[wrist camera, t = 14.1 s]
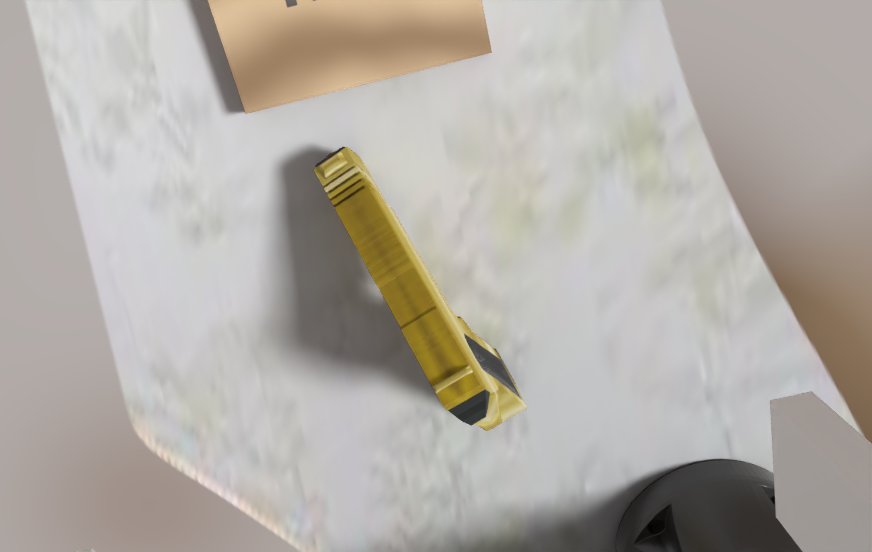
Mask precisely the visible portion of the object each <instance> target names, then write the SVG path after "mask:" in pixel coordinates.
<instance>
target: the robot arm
mask: <svg viewBox="0 0 872 552" xmlns="http://www.w3.org/2000/svg"><path fill="white" fill-rule="evenodd" d="M770 411H771V431H772V450H773V470H774V474H773V473H771V472H770V471H768V470H766V469H764V468H762V467H759V466H757V465H754V464H750V463H746V462H741V461H733V460H715V461H706V462H701V463H696V464H692V465H689V466H686V467H683V468H680V469H678V470H676V471H673V472H671V473H669V474H667V475H665V476H664V477H662V478H660V479H659V480H657V481H656V482H654V483H653V484H651V485H650V486H649V487H647V488H646V489H645V490H644V491H643V492H642V493H641V494H640V495H639V496H638V497H637V498H636V499H635V500H634V501H633V503H632V504H631V505H630V507H629V508H628V510H627V511H626V513H625V515H624V516H623V518H622V521H621V523H620V526H619V529H618V532H617V538H616V552H872V444H871V443H870V442H869V441H868V440H867V439H865V438H864V437H863V436H862V435H861V434H860V433H859V432H857V431H856V430H855V429H854V428H853V427H852V426H851V425H849V424H848V423H847V422H846V421H845V420H844V419H843V418H841V417H840V416H839V415H838V414H837V413H836V412H835V411H833V410H832V409H831V408H830V407H829V406H828V405H827V404H826V403H824V402H823V401H822V400H821V399H820V398H819V397H818V396H816V395H815V394H814V393H813V392H812V391H811V392H807V393H802V394H797V395H793V396H788V397H784V398H779V399H774V400H770ZM76 552H95V550H94V549H93V548H90V549H85V550H80V551H76Z"/></svg>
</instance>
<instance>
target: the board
mask: <svg viewBox="0 0 872 552" xmlns="http://www.w3.org/2000/svg"><path fill="white" fill-rule="evenodd" d="M208 3H209V6H210V9H211V12H212V15H213V18H214V21H215V24H216V27H217V30H218V32H219V35H220V38H221V41H222V44H223V47H224V50H225V53H226V56H227V59H228V62H229V65H230V68H231V71H232V74H233V77H234V80H235V83H236V86H237V89H238V92H239V95H240V98H241V101H242V104H243V107H244V110H245V113H246V114H247V113H251V112H255V111H259V110H263V109H267V108H271V107H275V106H279V105H283V104H287V103H291V102H295V101H299V100H303V99H307V98H311V97H315V96H319V95H323V94H327V93H331V92H335V91H339V90H343V89H347V88H351V87H355V86H359V85H363V84H367V83H371V82H375V81H379V80H383V79H387V78H392V77H396V76H400V75H404V74H408V73H412V72H416V71H420V70H424V69H428V68H432V67H436V66H440V65H444V64H448V63H452V62H456V61H460V60H464V59H468V58H472V57H476V56H480V55H484V54H488V53H492V51H491V46H490V41H489V36H488V30H487V25H486V20H485V15H484V9H483V4H482V0H208Z"/></svg>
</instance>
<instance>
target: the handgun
mask: <svg viewBox="0 0 872 552" xmlns="http://www.w3.org/2000/svg"><path fill="white" fill-rule="evenodd" d="M313 170H314V171H315V173H316V175H317V177H318V179H319V181H320V182H321V184H322V186H323V187H324V190H325V191H326V193H327V194H328V197H329V198H330V200H331V203H332V204H333V205H334V207H335V210H336V212H337V213H338V215H339V217H340V219H341V221H342V223H343V224H344V226H345V228H346V230H347V232H348V234H349V235H350V237H351V239H352V241H353V243H354V245H355V246H356V248H357V250H358V252H359V254H360V256H361V257H362V259H363V261H364V263H365V265H366V267H367V268H368V270H369V272H370V274H371V276H372V278H373V279H374V281H375V283H376V285H377V286H378V288H379V289H380V291H381V293H382V295H383V296H384V298H385V300H386V302H387V304H388V306H389V307H390V309H391V311H392V313H393V315H394V317H395V318H396V320H397V322H398V324H399V326H400V328H401V331H402V333H403V334H404V336H405V338H406V340H407V342H408V344H409V345H410V347H411V349H412V351H413V353H414V355H415V356H416V358H417V360H418V362H419V364H420V366H421V367H422V369H423V371H424V373H425V375H426V377H427V378H428V380H429V382H430V384H431V386H432V388H433V389H434V391H435V393H436V395H437V397H438V398H439V400H440V402H441V404H442V405H443V407H444V408H446V409H447V410H448V411H450V412H451V413H452V414H453V415H454V416H456V417H457V418H458V419H460V420H461V421H463V422H465V423H467V424H469V425H473V424H476V425H478V426H479V427H481V428H483V429H484V430H486V431H488V430H490V429H492V428H494V427H496V426H497V425H499V424H500V423H502V422H504V421H505V420H507V419H509V418H511V417H512V416H514V415H516V414H518V413H520V412H521V411H523V410H525V409H527V406H526V404H525V402H524V400H523V399H522V397H521V395H520V393H519V391H518V389H517V387H516V385H515V382H514V380H513V378H512V377H511V375H510V373H509V371H508V369H507V368H506V366H505V364H504V362H503V361H502V359H501V357H500V355H499V353H498V352H497V350H496V349H493V348H492V347H490V346H489V345H488V344H487V343H486V342H484V341H483V340H482V339H481V338H480V337H478V336H477V335H476V334H475V333H473V332H472V331H471V329H470V328H469V327H468V325H467V324H466V323H465V321H464V320H463V319H462V318H461V317H457V316H456V315H455V314H454V313H453V311H452V310H451V309H450V307H449V306H448V304H447V302H446V300H445V299H444V297H443V295H442V293H441V292H440V290H439V288H438V286H437V284H436V283H435V281H434V279H433V278H432V276H431V274H430V273H429V271H428V269H427V268H426V266H425V264H424V263H423V261H422V259H421V258H420V256H419V254H418V252H417V251H416V249H415V247H414V245H413V244H412V242H411V240H410V238H409V237H408V235H407V233H406V231H405V230H404V228H403V226H402V224H401V223H400V221H399V219H398V217H397V216H396V214H395V212H394V210H393V209H392V208H391V207H389V206H388V205H387V203H386V202H385V200H384V198H383V196H382V195H381V193H380V191H379V189H378V188H377V186H376V184H375V182H374V181H373V179H372V177H371V175H370V174H369V172H368V170H367V168H366V167H365V165H364V163H363V161H361V159H360V157H359V156H358V155H357V154H356V153H354V152H353V151H352V150H350V149H349V148H348V147H342V148H340V149H339V150H337V151H335V152H333V153H331V154H329V155H328V156H327V157H326V158H325V159H324V160H322V161H321V162H320V163H318V164H317V165H316V168H315V169H313Z"/></svg>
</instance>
